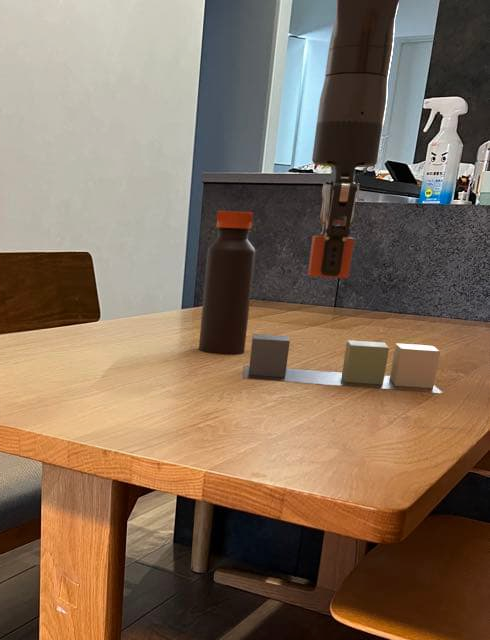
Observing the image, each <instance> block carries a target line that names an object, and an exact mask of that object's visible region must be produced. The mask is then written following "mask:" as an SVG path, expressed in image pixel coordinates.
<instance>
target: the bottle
mask: <svg viewBox="0 0 490 640" xmlns="http://www.w3.org/2000/svg"><path fill="white" fill-rule="evenodd" d="M253 217H254V213H253V212H251V211H250V212H249V211H228V210H218V211H217V217H216V226H215V227H216V228H217V229H216V231H217V238H216V239H215V240H213V242H212V243H211V244H210V245H209V247H208V248H207V252H206V253H207V254H206V263H205V264H206V265H205V277H204V288H203V295H202V297H203V298H202V309H201V319H200V331H199V342H198V351H199V352H202V353H207V354H213V355H222V356H224V355H225V356H233V355H234V356H235V355H237V356H238V355H243V354H245V349H246V342H247V341H246V340H247V332H248V331H247V330H248V322H249V314H250V313H249V312H250V303H251V296H252V287H253V286H252V285H253V278H254V269H255V260H256V259H255V258H256V249H255V247H254V246H253V244H252V243H251V242H250V240H249V233H251V229H252V226H253V225H252V223H253Z"/></svg>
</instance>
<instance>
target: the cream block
mask: <svg viewBox="0 0 490 640" xmlns="http://www.w3.org/2000/svg"><path fill="white" fill-rule="evenodd" d="M440 355H441V351H440V349H438V348H436V346H434V345H426V344H425V345H424V344H411V343H397V342H396V343H395V345H394V350H393V357H392V363H391V367H390V374H389V376H390V380H391V381H392V383H393V384H394V385H395V386H405V387H419V388H432V389H433V386H434V385H435V381H436V375H437V370H438V365H439V360H440Z"/></svg>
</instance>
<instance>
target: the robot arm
mask: <svg viewBox="0 0 490 640" xmlns="http://www.w3.org/2000/svg"><path fill="white" fill-rule="evenodd" d="M399 4H400V0H336V5H335V17H334V18H335V19H334V23H333V28H332V31H331V36H330V40H329V47H328V52H327V59H326V66H325V74H324V76H325V77H324V81H323V85H322V89H321V92H320V96H319V97H320V98H319V104H318V111H317V118H316V120H317V121H316V124H315V125H316V126H315V133H314V134H315V135H314V142H313V148H312V149H313V150H312V157H311V161H312V163H313V164H314V165H316V166H322V167H330V168H331V173H330V177H329V178H330V179H329V181H324V182H323V183H322V191H321V198H322V203H321V211H320V222H321V227H320V228H319V229H320V231H319V232H320V236H324V238H325V240H324V242H325V245H324V252H323V259H322V266H321V273H322V274H323V275H331V276H337V275H339V273H340V268H341V262H342V255H343V248H344V243H345V242H346V240H347V238H348V237H349V235H350V233H351V229H350V228H351V223H352V222H353V219H354V216H355V206H356V201H357V199H358V196H359V194H360V193H359V191H360V183H359V182H355V175H356V168H372V167H375V166H376V165H377V163H378V161H379V155H380V148H381V142H382V135H383V128H384V122H385V117H386V109H387V103H388V87H389V86H388V84H389V83H388V82H389V75H390V69H391V62H392V57H393V49H394V43H395V42H394V41H395V25H396V18H397V17H396V15H397V12H398V8H399ZM335 224H336V225H335ZM326 242H328V243H326Z"/></svg>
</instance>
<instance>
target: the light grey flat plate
mask: <svg viewBox="0 0 490 640" xmlns="http://www.w3.org/2000/svg"><path fill="white" fill-rule="evenodd" d="M242 371H243V372H242V379H243V380H256V381H268V382H269V381H270V382H284V383H294V384H295V383H297V384H308V385H309V384H311V385H322V386H324V385H325V386H335V387H349V388H363V389H375V390H388V391H402V392H403V391H404V392H414V393H427V394H428V393H429V394H442V395H443V394H444V393H443V391H442V390H440V389H439V387H438V386H436V385H435V384H434V386H433V389H432V388H419V387H405V386H395V385H394V384H393V383H392V381H391V380H390V375H385V376H384V381H383V385H378V384H365V383H351V382H345V381H344V379H343V377H342V372H343V371H342V372H341V371H340V372H339V371H327V370H312V369H299V368H288V367H286V375H285V378H284V377H271V376H257V375H249V365H243V370H242Z"/></svg>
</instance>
